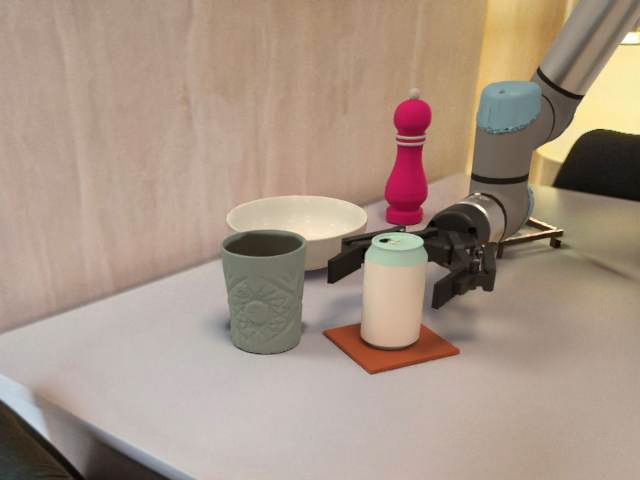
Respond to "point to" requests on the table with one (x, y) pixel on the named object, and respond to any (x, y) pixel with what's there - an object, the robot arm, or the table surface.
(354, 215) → the serving bowl
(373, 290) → the can
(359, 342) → the mat
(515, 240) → the square trivet stand
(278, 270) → the grey ceramic cup
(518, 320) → the table surface
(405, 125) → the pepper mill
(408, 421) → the table surface
